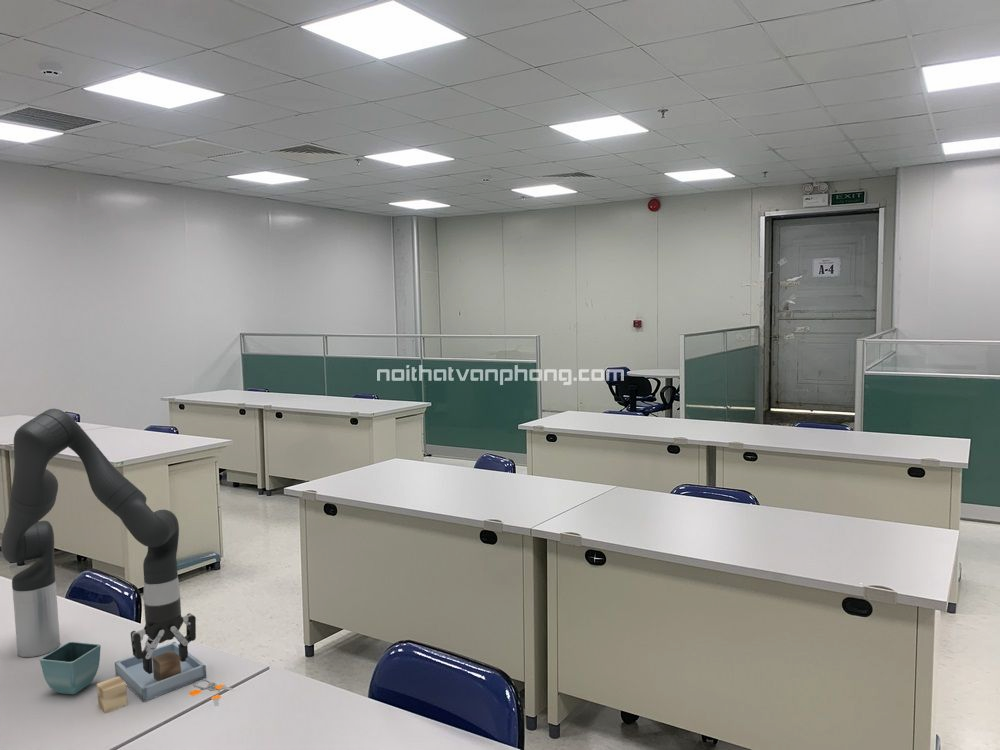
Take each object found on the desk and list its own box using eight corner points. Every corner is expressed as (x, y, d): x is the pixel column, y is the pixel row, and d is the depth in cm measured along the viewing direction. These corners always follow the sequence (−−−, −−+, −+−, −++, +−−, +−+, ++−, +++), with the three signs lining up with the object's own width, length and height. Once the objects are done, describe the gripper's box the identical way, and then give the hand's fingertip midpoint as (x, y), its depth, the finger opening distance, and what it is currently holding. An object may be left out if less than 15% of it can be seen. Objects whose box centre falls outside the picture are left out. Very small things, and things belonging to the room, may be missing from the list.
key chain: (179, 693, 158) (179, 689, 158) (207, 678, 164) (207, 675, 164) (214, 709, 151) (214, 705, 151) (242, 693, 158) (242, 689, 158)
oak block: (98, 705, 153) (96, 683, 153) (120, 697, 156) (118, 676, 156) (105, 713, 150) (103, 691, 150) (127, 704, 153) (126, 682, 153)
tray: (115, 674, 166) (114, 662, 166) (175, 653, 176) (174, 641, 176) (143, 702, 154) (142, 689, 154) (206, 677, 164) (205, 665, 164)
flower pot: (74, 701, 155) (71, 662, 154) (41, 697, 157) (38, 659, 156) (104, 680, 163) (101, 644, 163) (72, 677, 165) (69, 641, 164)
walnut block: (161, 684, 159) (159, 663, 159) (153, 677, 162) (152, 657, 162) (181, 677, 163) (180, 656, 162) (173, 670, 166) (172, 650, 165)
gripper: (135, 612, 153) (139, 684, 154) (200, 592, 163) (203, 660, 165) (123, 602, 158) (127, 672, 160) (186, 584, 168) (190, 650, 170)
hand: (166, 666), depth 162 cm, fingers open, 7 cm apart
